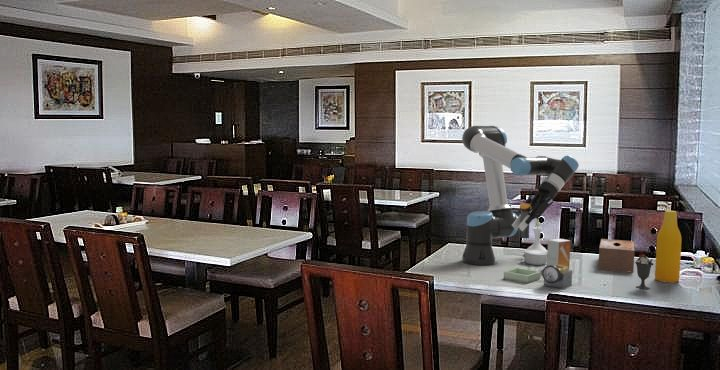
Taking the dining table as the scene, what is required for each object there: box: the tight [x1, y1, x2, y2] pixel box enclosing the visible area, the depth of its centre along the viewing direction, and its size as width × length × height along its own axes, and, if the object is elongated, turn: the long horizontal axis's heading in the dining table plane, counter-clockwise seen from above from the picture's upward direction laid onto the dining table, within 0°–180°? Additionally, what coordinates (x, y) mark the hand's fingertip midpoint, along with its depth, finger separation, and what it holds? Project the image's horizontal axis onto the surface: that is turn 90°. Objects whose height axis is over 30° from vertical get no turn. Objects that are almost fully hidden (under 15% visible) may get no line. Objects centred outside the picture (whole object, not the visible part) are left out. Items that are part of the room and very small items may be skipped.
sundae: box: [634, 249, 655, 291], centre depth 245 cm, size 7×7×15 cm
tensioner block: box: [541, 265, 573, 290], centre depth 247 cm, size 8×11×9 cm
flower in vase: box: [525, 218, 548, 251], centre depth 305 cm, size 13×11×25 cm
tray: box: [503, 267, 542, 284], centre depth 259 cm, size 11×11×3 cm
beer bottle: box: [654, 210, 683, 283], centre depth 258 cm, size 9×9×29 cm
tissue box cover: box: [597, 238, 635, 273], centre depth 288 cm, size 26×14×10 cm, turn 157°
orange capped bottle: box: [519, 202, 531, 239], centre depth 256 cm, size 5×5×14 cm
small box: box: [546, 238, 572, 268], centre depth 278 cm, size 8×6×13 cm
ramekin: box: [523, 249, 548, 266], centre depth 291 cm, size 11×11×5 cm
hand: (517, 228), depth 255 cm, fingers closed on orange capped bottle, 3 cm apart
